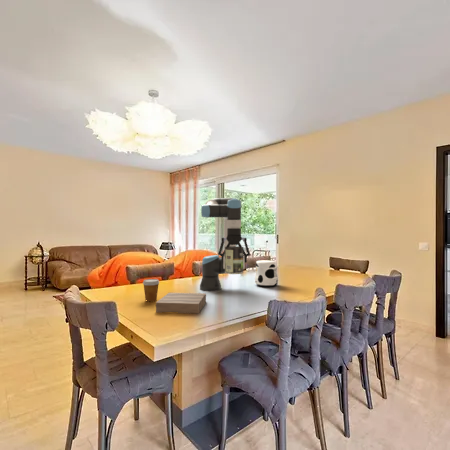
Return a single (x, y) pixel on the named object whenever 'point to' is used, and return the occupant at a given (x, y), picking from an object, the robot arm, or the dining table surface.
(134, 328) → the dining table surface
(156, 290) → the disposable coffee cup
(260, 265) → the milk container
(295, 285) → the dining table surface
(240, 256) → the coffee can
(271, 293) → the dining table surface
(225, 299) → the dining table surface
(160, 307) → the walnut plinth
